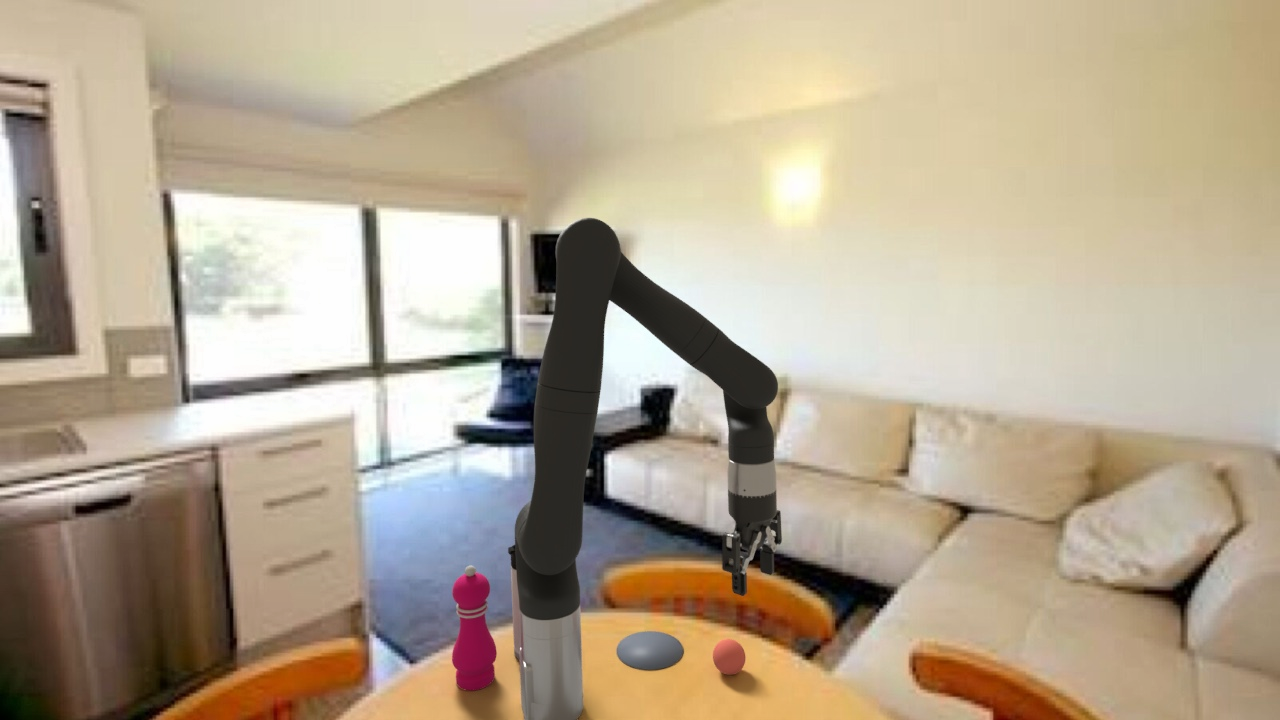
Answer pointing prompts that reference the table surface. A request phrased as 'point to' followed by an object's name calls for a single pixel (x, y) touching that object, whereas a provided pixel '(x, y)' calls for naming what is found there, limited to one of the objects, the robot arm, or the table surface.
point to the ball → (729, 656)
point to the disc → (649, 650)
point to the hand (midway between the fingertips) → (754, 583)
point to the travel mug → (515, 602)
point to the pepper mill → (473, 632)
